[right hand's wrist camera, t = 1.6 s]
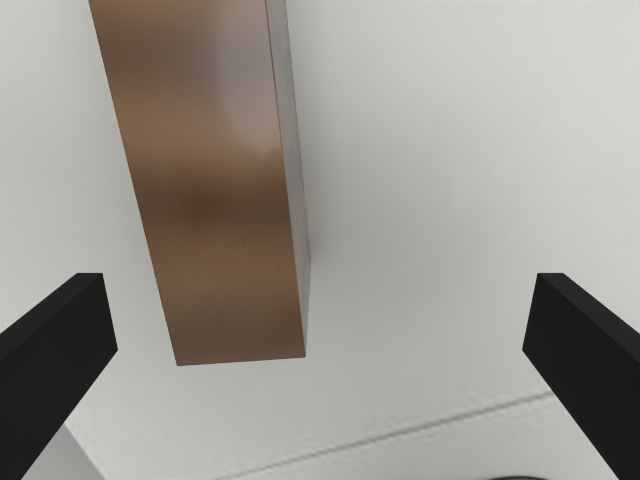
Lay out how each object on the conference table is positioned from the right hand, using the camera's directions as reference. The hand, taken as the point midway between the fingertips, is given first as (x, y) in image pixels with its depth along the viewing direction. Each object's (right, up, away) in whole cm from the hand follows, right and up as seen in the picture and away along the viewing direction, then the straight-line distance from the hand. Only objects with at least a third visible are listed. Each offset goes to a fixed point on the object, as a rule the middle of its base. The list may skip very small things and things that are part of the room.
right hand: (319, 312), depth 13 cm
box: (-5, +13, +12) cm, 18 cm away
